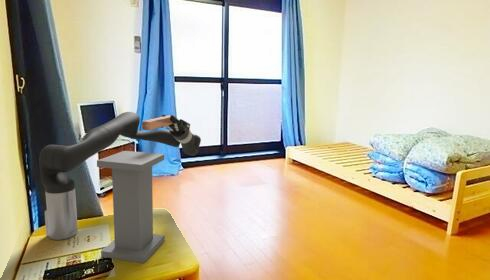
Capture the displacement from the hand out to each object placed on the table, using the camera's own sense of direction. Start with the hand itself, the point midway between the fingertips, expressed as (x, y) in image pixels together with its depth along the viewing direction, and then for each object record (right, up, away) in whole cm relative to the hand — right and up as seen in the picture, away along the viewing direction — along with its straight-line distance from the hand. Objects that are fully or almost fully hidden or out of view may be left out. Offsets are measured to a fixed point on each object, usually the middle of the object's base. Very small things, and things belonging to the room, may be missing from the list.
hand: (167, 116), depth 126 cm
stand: (-7, -46, -18) cm, 50 cm away
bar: (-1, -4, -5) cm, 7 cm away
